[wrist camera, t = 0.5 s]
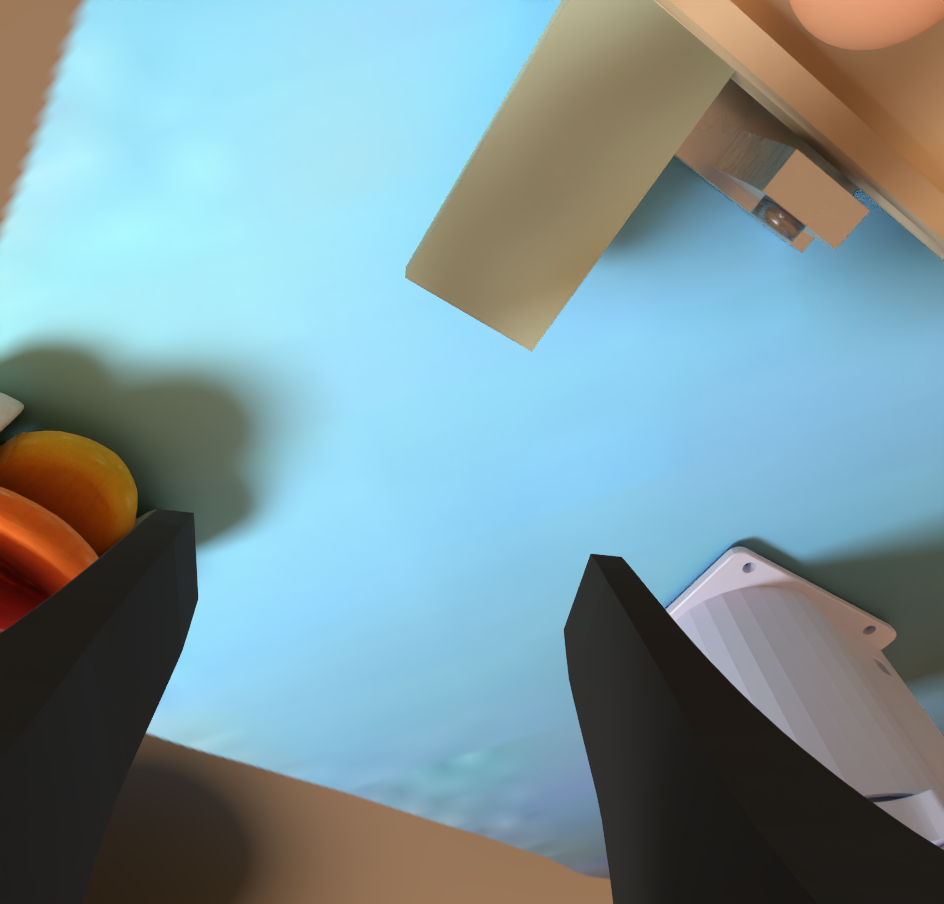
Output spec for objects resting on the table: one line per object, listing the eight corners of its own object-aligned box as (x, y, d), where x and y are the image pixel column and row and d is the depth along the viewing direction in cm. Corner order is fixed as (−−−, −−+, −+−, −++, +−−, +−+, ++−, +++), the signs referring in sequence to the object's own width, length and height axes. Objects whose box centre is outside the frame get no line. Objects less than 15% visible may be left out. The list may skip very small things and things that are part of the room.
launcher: (1129, 121, 17) (1273, 142, 14) (773, 469, 22) (826, 536, 19) (731, -335, 12) (826, -445, 9) (400, 245, 17) (396, 289, 14)
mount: (1061, -74, 15) (1227, -98, 12) (785, 247, 19) (858, 292, 16) (928, -240, 14) (1080, -320, 11) (654, 146, 17) (706, 174, 14)
